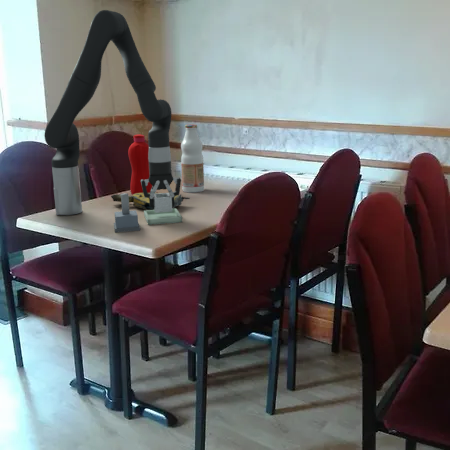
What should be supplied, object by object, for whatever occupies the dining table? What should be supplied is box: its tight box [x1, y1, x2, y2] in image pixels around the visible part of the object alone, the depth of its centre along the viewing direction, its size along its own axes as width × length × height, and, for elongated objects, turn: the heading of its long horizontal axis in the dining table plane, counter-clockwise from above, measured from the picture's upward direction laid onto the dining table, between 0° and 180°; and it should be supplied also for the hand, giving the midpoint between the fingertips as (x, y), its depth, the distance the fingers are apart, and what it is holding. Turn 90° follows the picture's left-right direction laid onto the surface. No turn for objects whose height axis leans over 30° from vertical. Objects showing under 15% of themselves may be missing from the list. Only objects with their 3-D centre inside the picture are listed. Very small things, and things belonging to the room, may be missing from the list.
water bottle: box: [127, 133, 152, 196], centre depth 237 cm, size 9×11×25 cm
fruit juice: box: [180, 124, 205, 194], centre depth 243 cm, size 9×9×28 cm
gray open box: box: [153, 192, 173, 213], centre depth 198 cm, size 6×8×5 cm
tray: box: [143, 207, 183, 226], centre depth 199 cm, size 12×14×2 cm
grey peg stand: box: [113, 192, 141, 233], centre depth 187 cm, size 8×8×12 cm
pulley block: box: [110, 192, 190, 211], centre depth 217 cm, size 14×6×30 cm
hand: (162, 208), depth 199 cm, fingers closed on gray open box, 5 cm apart
